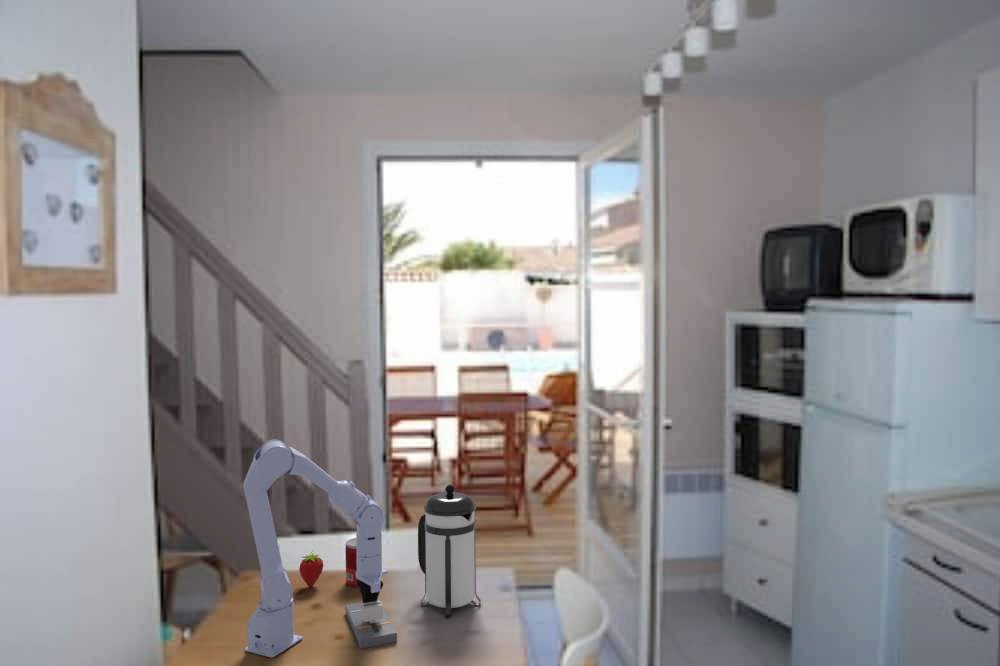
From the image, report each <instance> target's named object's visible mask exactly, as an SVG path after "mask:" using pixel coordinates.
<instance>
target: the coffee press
mask: <svg viewBox="0 0 1000 666" xmlns="http://www.w3.org/2000/svg"><path fill="white" fill-rule="evenodd" d="M444 490H445V492H439V493H437V494H434V495H432V496H430V497H429V498H428V499H427V501H426V502H425V504H424V505H423V511H424V513H425V514H422V516H420V518H419V521H418V525H417V555H418V556H417V557H418V558H417V559H418V564H419V567H420V570H421V572H422V573H423V574H424V587H425V588H424V596H422V598H421V600H420V605H421V607H426V606H427V605H428V604H431V605H433V606H435V607H438V608H443V609H445V611H444V618H452V611H453V609H454V608H461V607H464V606H467V605H468V604H470V603H472V604H473V606H475V607H477V606H476V603H477V602H476V601H475V600H474V597H475V598H476V600H478V602H479V603H478V604H479V606H478V607H480V606H481V603H482V600H481V599H480V597H479V596H478V594H477V576H476V575H477V573H476V572H477V565H476V564H477V563H476V562H477V561H476V559H477V557H476V555H477V554H476V549H477V548H476V541H477V540H476V518H475V511H476V510H477V504H476V503H475V502H474V499H473V498H472V497H471V496H470V495H468V494H465V493H462V492H455V491H456V490H455V486H453V485H452V484H447V485H446V486H445V489H444ZM425 597H426V599H427V602H426V603H424V602H422V601H423V600H425ZM452 608H453V609H452Z"/></svg>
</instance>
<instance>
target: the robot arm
mask: <svg viewBox="0 0 1000 666" xmlns="http://www.w3.org/2000/svg"><path fill="white" fill-rule="evenodd" d="M289 449H290V450H289ZM253 455H254V456H253V459H252V462H251V464H250V466H249V469H248V470H247V474H246V476H245V478H244V481H243V491H244V497H245V500H246V506H247V510H248V515H249V519H250V525H251V528H252V533H253V537H254V543H255V547H256V552H257V557H258V562H259V567H260V571H261V574H260V578H259V587H260V591H261V597H260V599H259V601H258V606H257V609H256V610H255V612H254V613H252V615H250V616H249V618H248V621H247V623H246V624H247V625H246V626H247V628H246V629H247V632H246V634H247V646H246V647H245V648H244V651H245V652H249V653H253V654H256V655H259V656H263V657H266V658H275V657H277V656H279V654H281V653H283V652H285V651H286V650H287V649H289V648H291V647H292V646H294V645H295V644H297V643H298V642H300V641H301V640H303V636H302V635H297V634H295V633H294V631H295V630H294V629H295V627H294V625H295V622H294V597H293V596H294V589H293V586H292V585H291V584H292V583H291V582H290V576H289V573H288V571H287V569H285V568H284V565H283V561H282V556H281V552H280V548H279V547H280V546H279V543H278V538H277V534H276V533H277V532H276V528H275V524H274V519H273V518H274V517H273V514H272V508H271V504H270V499H269V496H268V490H269V489H270V487H271V486H272V485H273V483H275V482H276V480H278V478H279V479H280V478H281V477H282V476H284V475H285V474H286V473H287V472H288V474H289V475H290V476H294V475H295V476H296V475H302V476H303V477H305V478H306V479H307V480H309V481H310V482H312V483H314V484H315V485H316V486H317V487H319V488H321V489H322V490H324V491H325V492H326V493H327V494H328V501H329V502H330V503H331V504H332V505H333V506H335V507H336V508H338V509H339V510H340V511H341V512H343V513H344V514H346V515H348V517H350V518H354V520H355V521H357V522H356V534H355V535H356V537H355V538H356V548H357V572H356V578H357V579H359V580H357V581H356V583H357V585H358V587H357V588H358V589H359V592H360V595H361V600H362V601H361V602H363V603H367V602H373V601H377V600H379V599H378V598H379V597H380V596H379V594H380V593H381V590H382V589H383V587H384V582H383V581H382V578H383V576H385V575H387V574H388V569H386V568H383V563H382V561H383V557H382V553H383V551H382V550H383V549H382V546H383V543H382V525H383V524H384V521H385V515H384V512H383V509H382V508H381V507H380V505H379V504H378V503H377V502H376V501H374V499H373V498H372V496H370V495H369V494H366V495H365V493H363V492H361V490H359V489H358V488H356V486H357V485H356V484H355V483H354V482H353V481H352V480H350V481H347V480H345V479H344V480H336V479H335V478H333V477H332V476H331V475H329V474H328V473H327V472H326V471H325V470H324V469H323V468H321V467H320V466H319V465H318V464H316V463H315V462H314V461H312V460H311V459H310V458H309V457H308V456H306V455H305V454H303V453H302V452H300V451H298V450H297V449H295V448H294V447H291V446H289V447H288V446H287V444H286V443H285V442H284V441H282V440H280V439H270V440H267V441H266V442H264V443H263V444H262V445H261V446H260V447H259V448H258V449H257V450H256V452H255V453H254V454H253Z"/></svg>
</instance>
